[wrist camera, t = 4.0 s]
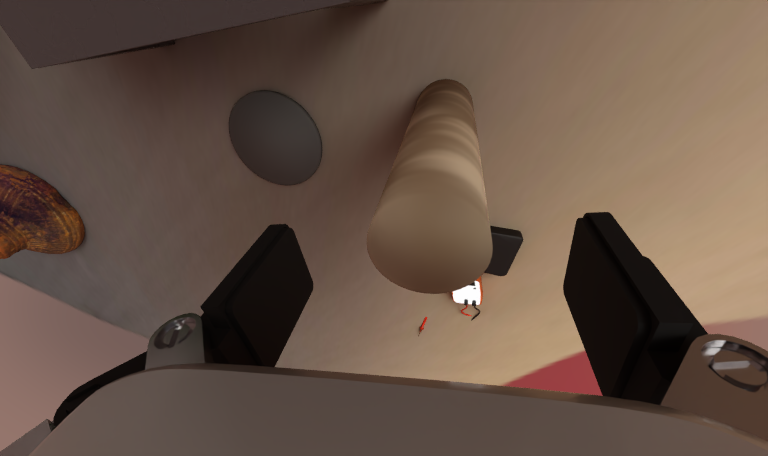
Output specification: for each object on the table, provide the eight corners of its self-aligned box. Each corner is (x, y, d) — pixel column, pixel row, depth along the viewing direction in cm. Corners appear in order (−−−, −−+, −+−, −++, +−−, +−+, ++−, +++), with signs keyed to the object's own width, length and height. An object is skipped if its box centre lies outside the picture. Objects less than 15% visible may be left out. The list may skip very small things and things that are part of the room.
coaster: (305, 83, 24) (303, 85, 23) (332, 180, 28) (331, 182, 28) (215, 97, 26) (212, 98, 25) (254, 185, 30) (251, 187, 30)
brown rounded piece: (91, 204, 36) (22, 244, 30) (85, 259, 43) (27, 300, 37) (-19, 139, 34) (-119, 169, 28) (-8, 209, 40) (-86, 245, 34)
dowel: (472, 75, 21) (494, 192, 9) (472, 133, 24) (491, 295, 11) (413, 83, 22) (355, 199, 10) (419, 138, 24) (378, 292, 12)
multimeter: (491, 351, 39) (494, 378, 36) (396, 325, 39) (392, 349, 36) (572, 241, 28) (585, 267, 25) (441, 206, 28) (439, 227, 26)
